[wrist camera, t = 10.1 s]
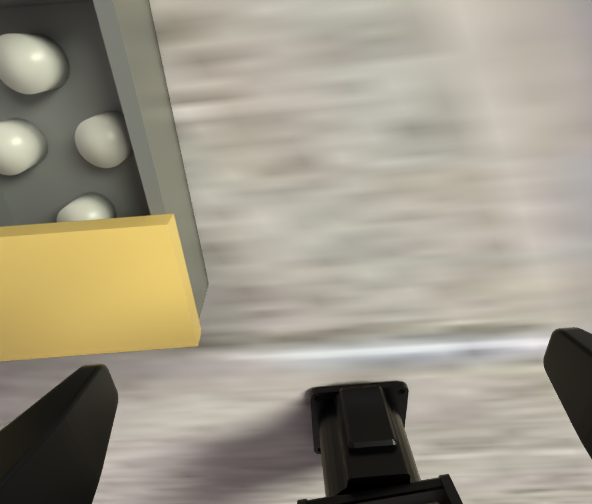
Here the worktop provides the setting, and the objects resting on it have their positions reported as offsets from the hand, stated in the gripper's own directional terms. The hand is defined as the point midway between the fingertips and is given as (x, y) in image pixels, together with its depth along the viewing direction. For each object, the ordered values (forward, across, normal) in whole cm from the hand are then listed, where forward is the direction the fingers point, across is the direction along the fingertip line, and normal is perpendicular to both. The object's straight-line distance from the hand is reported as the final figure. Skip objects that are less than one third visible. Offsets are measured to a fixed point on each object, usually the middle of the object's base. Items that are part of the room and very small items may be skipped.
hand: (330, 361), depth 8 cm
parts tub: (+12, +10, -1) cm, 16 cm away
